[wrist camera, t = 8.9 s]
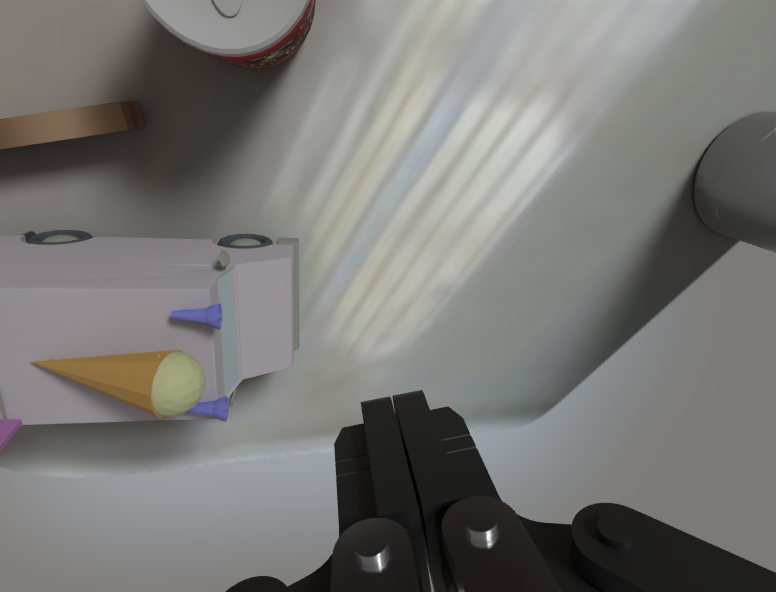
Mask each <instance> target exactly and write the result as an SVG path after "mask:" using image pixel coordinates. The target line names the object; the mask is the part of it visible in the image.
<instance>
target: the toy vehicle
mask: <svg viewBox="0 0 776 592" xmlns="http://www.w3.org/2000/svg"><path fill="white" fill-rule="evenodd" d="M297 349H299V250H298V239H297V238H279V240H278V241H276V242H275V243H274V244H273V243H272V240H270V239H269V238H267V237H265V236H260V235H255V234H237V235H230V236H227V237H224V238H222V239H220V241H219V243H218V245H216V244H215V243H214V241H213V239H175V238H134V237H92V236H91V235H90V234H89V233H86V232H83V231H75V230H59V231H50V232H43V233H40V234H37V235H36V233H34V232H33V231H31V232H28V233H25V234H23V235H0V452H1V451H2V450H3V449H4V447H5V446H6V445H7V443H8V442H9V441H10V440H11V438H12V437H13V436H14V434H15V433H16V432H17V430H18V429H19V428H20V427H21V425H36V424H66V423H97V422H128V421H159V420H190V419H219V420H222V421H226V420H227V416H228V397H229V396H230V395H231V394H232V396H231V400H230V404H229V407H231V406H232V403H233V401H234V397H235V393H236V389H237V386H238V385H239V384H240V382H241V381H242V380H244V379H247V378H251V377H255V376H259V375H263V374H267V373H271V372H275V371H279V370H283V369H287V368H290V367H292V366H293V356H294V350H297ZM232 392H233V393H232Z"/></svg>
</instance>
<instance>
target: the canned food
mask: <svg viewBox="0 0 776 592" xmlns="http://www.w3.org/2000/svg"><path fill="white" fill-rule="evenodd" d="M141 1H142V3H143V4H144V5H145V6H146V8H147V9H148V10H149V12H150V13H151V14H152V15H153V16H154V18H155V19H156V20H157V21H159V22H160V23H161V24H162V25H163V26H164V27H165V28H166V29H167V30H168V31H169V32H170V33H171V34H173V35H174V36H176V37H177V38H179V39H180V40H182V41H183V42H185V43H186V44H188V45H190V46H192V47H193V48H195V49H198V50H200V51H202V52H205V53H207V54H209V55H211V56H214V57H217V58H219V59H222V60H224V61H227V62H229V63H232V64H234V65H237V66H241V67H246V68H266V67H270V66H274V65H276V64H278V63H281V62H283V61H285V60H286V59H287V58H289V57H290V56H291V55H292V54H294V53H295V52H296V51H297V49H298V48H299V47H300V46H301V44H302V43H303V42H304V40H305V38H306V36H307V34H308V32H309V30H310V27H311V24H312V20H313V17H314V10H315V0H141Z"/></svg>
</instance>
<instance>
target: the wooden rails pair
mask: <svg viewBox="0 0 776 592" xmlns="http://www.w3.org/2000/svg"><path fill="white" fill-rule="evenodd" d="M143 127H144V123H143V120H142V117H141V114H140V110H139V107H138V104H137V102H115V103H108V104H102V105H95V106H88V107H81V108H74V109H67V110H60V111H54V112H47V113H40V114H33V115H26V116H19V117H12V118H5V119H0V149H6V148H13V147H19V146H26V145H33V144H39V143H46V142H53V141H59V140H66V139H73V138H79V137H86V136H93V135H99V134H106V133H113V132H119V131H126V130H132V129H137V128H143Z"/></svg>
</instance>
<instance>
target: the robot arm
mask: <svg viewBox="0 0 776 592" xmlns="http://www.w3.org/2000/svg"><path fill="white" fill-rule="evenodd" d="M694 201H695V205H696V210H697V212H698V214H699V216H700V218H701V220H702V221H703V222H704V223H705V224H706V225H707V227H708V228H710V229H712V230H713V231H715V232H717V233H719V234H722V235H725V236H728V237H731V238H734V239H737V240H740V241H743V242H746V243H749V244H752V245H755V246H758V247H761V248H763V249H766V250H770V251H772V252H775V253H776V112H763V113H757V114H752V115H750V116H747V117H745V118H742V119H740V120H739V121H737V122H735V123H734V124H732V125H730V126H729V127H728V128H727V129H726V130H725V131H723V132H722V133H721V134H720V135H719V136H718V137H717V138H716V140H715V141H714V142H713V143H712V144H711V146H710V147H709V148H708V150H707V152H706V154H705V155H704V157H703V159H702V161H701V163H700V166H699V168H698V171H697V174H696V179H695V184H694ZM393 404H394V409H393V405H392V401H391V397H385V398H379V399H374V400H369V401H364V402H361V407H362V414H363V421H364V424H359V425H354V426H349V427H344V428H342V430H341V432H340V434H339V435H338V437H337V439H336V441H335V443H334V447H335V462H336V464H335V465H336V477H337V478H336V482H337V500H338V517H339V538H338V540H337V542H336V544H335V546H334V549H333V553H332V555H331V556H330V558H329V559H328V560H327V561H326V562H325V563H324V564H323V565H322V566H321V567H320V568H319V569H317V570H316V571H315V572H313V573H312V574H310V575H308V576H306V577H305V578H303V579H301V580H299V581H297V582H296V583H293V584H292V585H290V586H288V587H287V586H286V585H285V584H284V583H283V582H282V581H280V580H278V579H276V578H273V577H269V576H257V577H252V578H249V579H246V580H243V581H241V582H239V583H237V584H236V585H234V586H232V587H231V588H229V589H228V590H227V591H226V592H431V586H430V580H429V573H428V567H429V572H430V576H431V580H432V584H433V588H434V592H776V573H775V572H772V571H770V570H768V569H766V568H764V567H761V566H759V565H757V564H755V563H752V562H750V561H748V560H746V559H744V558H741V557H739V556H737V555H735V554H732V553H730V552H728V551H726V550H723V549H721V548H719V547H717V546H714V545H712V544H710V543H708V542H705V541H703V540H701V539H699V538H696V537H694V536H692V535H690V534H687V533H685V532H683V531H681V530H679V529H676V528H674V527H672V526H670V525H667V524H665V523H663V522H661V521H658V520H656V519H654V518H652V517H650V516H647V515H645V514H643V513H641V512H638V511H636V510H634V509H631V508H629V507H626V506H623V505H619V504H613V503H597V504H593V505H589V506H587V507H585V508H583V509H582V510H580V511H579V512H578V513H577V514H576V515H575V518H574V519H573V522H572V525H570V524H555V523H542V522H536V521H532V520H529V519H526V518H523V517H521V516H519V515H517V514H516V513H515V511H514V510H513V509H512V508H511V507H510V506H509V505H507V504H506V503H504V502H502V500H501V499H500V497H499V495H498V493H497V491H496V488H495V486H494V484H493V482H492V480H491V478H490V476H489V474H488V471H487V469H486V467H485V465H484V463H483V461H482V458H481V456H480V454H479V452H478V450H477V449H476V446H475V443H474V441H473V439H472V437H471V436H470V432H469V430H468V428H467V426H466V424H465V422H464V419H463V418H462V417H461V416H460V415H459V414H457V413H456V412H455V411H453V410H452V409H451V408H449V407H443V408H438V409H433V410H430V409H429V406H428V404H427V401H426V398H425V395H424V393H423V391H422V390H420V391H414V392H409V393H404V394H399V395H394V396H393ZM394 410H395V413H394ZM395 416H396V417H395ZM427 564H428V566H427Z"/></svg>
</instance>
